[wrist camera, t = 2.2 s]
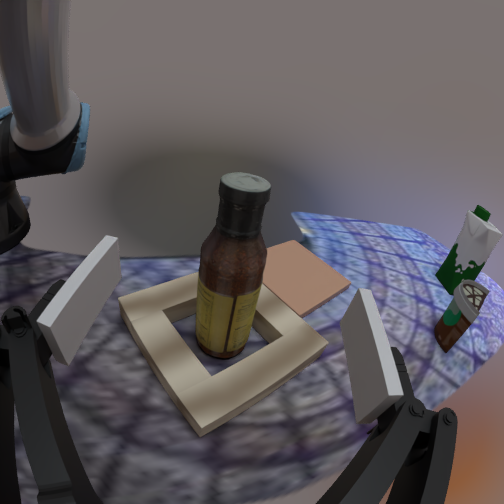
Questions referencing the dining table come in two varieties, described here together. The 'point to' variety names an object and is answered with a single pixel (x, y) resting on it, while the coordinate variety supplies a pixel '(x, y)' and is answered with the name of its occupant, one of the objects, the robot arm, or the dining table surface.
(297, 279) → the terracotta tile
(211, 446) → the dining table surface
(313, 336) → the bottle stand
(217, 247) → the sauce bottle
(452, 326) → the food container
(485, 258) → the milk carton
